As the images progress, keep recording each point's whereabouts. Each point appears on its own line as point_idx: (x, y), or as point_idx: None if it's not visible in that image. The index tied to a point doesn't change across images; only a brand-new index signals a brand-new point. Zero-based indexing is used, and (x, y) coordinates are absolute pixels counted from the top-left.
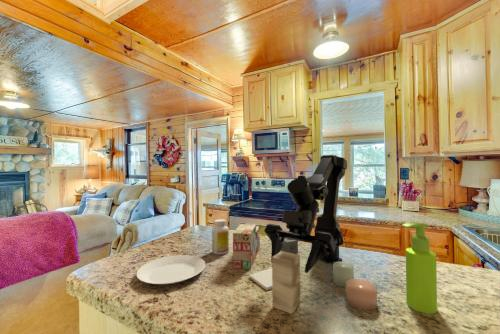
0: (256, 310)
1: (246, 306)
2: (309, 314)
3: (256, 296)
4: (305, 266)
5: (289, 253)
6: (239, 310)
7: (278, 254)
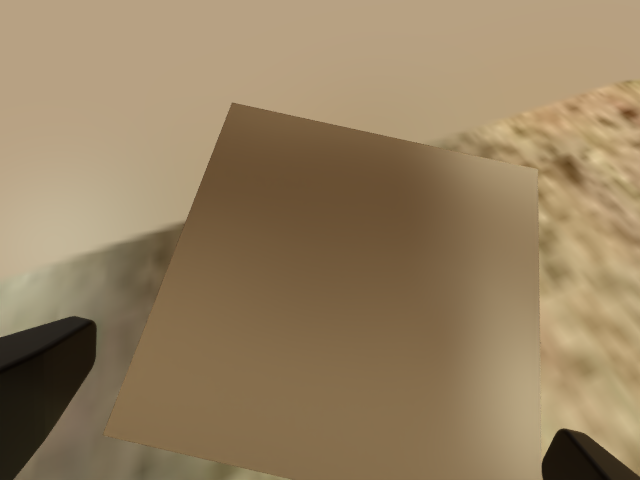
0: None
1: None
2: None
3: None
4: (61, 339)
5: (331, 434)
6: None
7: (502, 296)
